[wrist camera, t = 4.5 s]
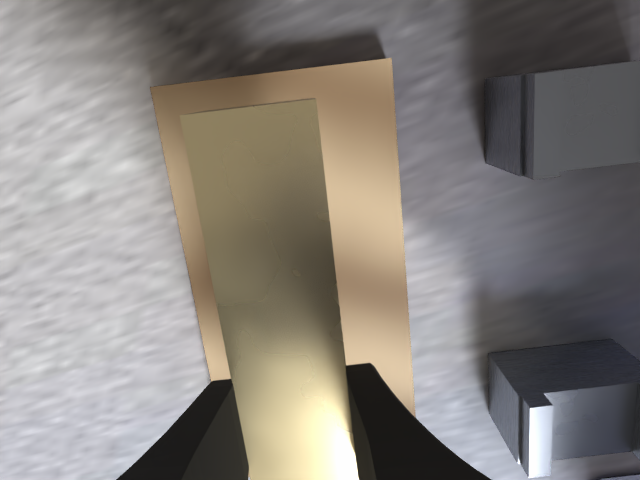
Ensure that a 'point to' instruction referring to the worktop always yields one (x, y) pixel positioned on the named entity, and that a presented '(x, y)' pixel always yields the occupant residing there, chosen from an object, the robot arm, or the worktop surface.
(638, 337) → the worktop surface
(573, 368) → the post
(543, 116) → the post
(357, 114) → the board
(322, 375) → the rail
